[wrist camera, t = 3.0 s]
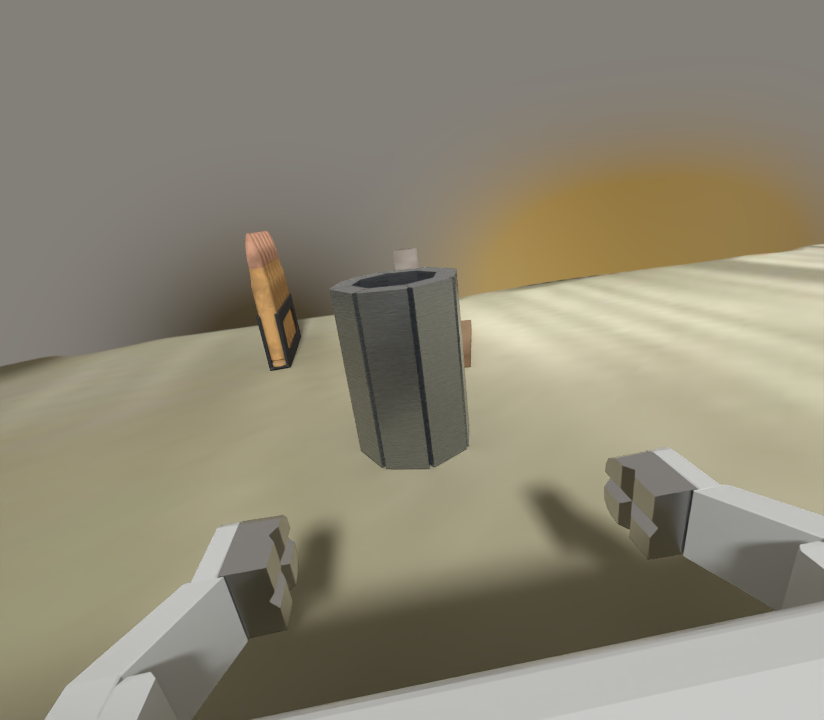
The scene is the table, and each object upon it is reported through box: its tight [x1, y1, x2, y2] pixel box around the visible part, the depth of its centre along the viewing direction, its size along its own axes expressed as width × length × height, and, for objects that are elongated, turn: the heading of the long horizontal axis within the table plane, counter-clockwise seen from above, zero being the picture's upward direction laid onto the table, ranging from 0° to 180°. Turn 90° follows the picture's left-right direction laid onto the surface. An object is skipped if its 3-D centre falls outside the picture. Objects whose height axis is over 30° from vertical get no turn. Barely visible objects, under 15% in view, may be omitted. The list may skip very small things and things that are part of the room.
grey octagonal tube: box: [330, 267, 469, 469], centre depth 21 cm, size 6×6×9 cm
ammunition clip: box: [245, 231, 301, 371], centre depth 39 cm, size 11×2×12 cm, turn 10°
